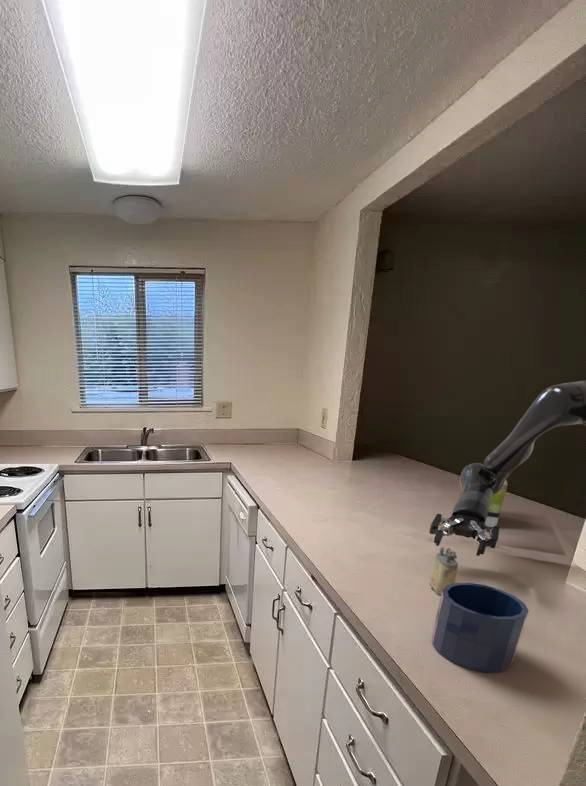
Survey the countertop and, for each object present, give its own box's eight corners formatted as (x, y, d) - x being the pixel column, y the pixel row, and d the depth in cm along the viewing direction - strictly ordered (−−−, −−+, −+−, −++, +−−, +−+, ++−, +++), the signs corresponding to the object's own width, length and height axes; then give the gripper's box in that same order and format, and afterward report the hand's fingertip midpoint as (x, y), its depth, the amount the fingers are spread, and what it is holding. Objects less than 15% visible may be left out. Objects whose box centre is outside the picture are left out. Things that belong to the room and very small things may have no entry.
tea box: (497, 528, 139) (508, 484, 134) (460, 523, 144) (470, 480, 139) (495, 514, 151) (505, 473, 146) (461, 510, 156) (470, 470, 151)
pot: (463, 625, 90) (474, 577, 86) (528, 662, 78) (545, 609, 75) (416, 639, 85) (426, 590, 82) (478, 680, 74) (494, 626, 70)
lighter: (454, 597, 100) (463, 558, 96) (436, 596, 101) (445, 557, 97) (442, 582, 107) (450, 545, 103) (425, 581, 107) (433, 544, 104)
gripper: (442, 493, 115) (427, 528, 106) (507, 505, 107) (497, 544, 98) (437, 515, 120) (422, 551, 110) (499, 528, 112) (489, 568, 102)
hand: (457, 548), depth 104 cm, fingers open, 8 cm apart
